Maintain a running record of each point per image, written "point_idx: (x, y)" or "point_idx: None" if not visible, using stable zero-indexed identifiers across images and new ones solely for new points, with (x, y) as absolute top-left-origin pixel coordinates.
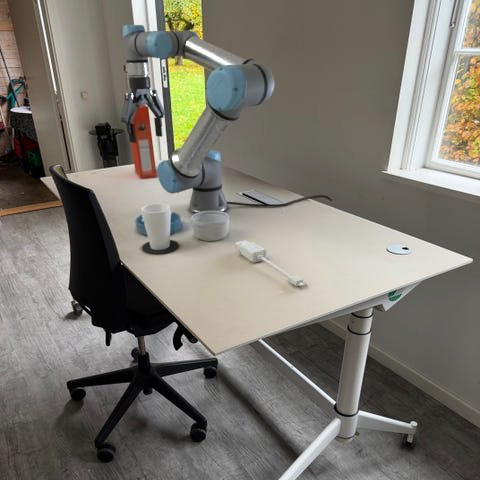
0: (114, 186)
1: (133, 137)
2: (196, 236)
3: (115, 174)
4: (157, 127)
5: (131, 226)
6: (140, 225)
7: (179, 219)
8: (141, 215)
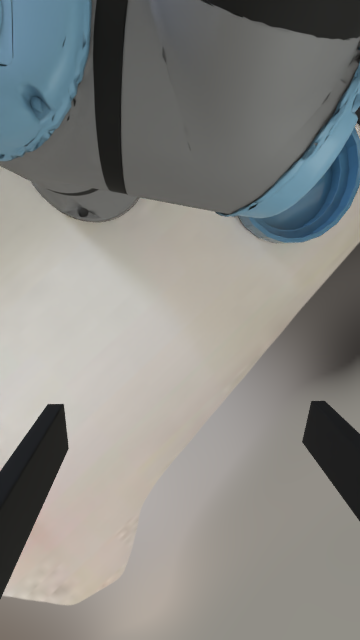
0: (102, 496)
1: (348, 430)
2: None
3: (33, 558)
4: (34, 488)
5: (300, 259)
6: (358, 185)
7: None
8: (297, 239)
